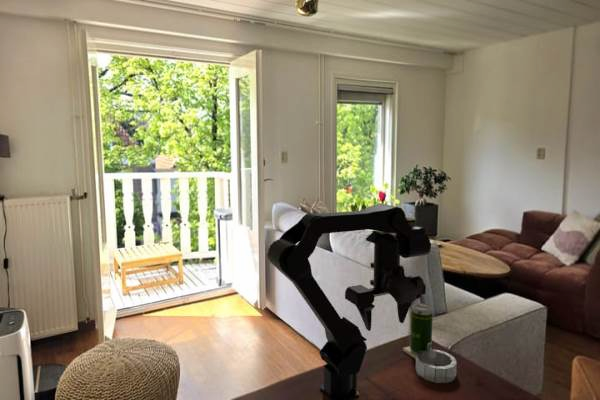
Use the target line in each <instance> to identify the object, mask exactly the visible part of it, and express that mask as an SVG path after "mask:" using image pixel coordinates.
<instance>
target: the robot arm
mask: <svg viewBox="0 0 600 400" xmlns="http://www.w3.org/2000/svg"><path fill="white" fill-rule="evenodd" d="M365 230H371V231H372V232H371V233H370V234H369V235H368V236H367V237H366V238H365V241H366V242H369V243H372V244H374V245H373V249H374V251H373V262H370V268H372V269H373V279H370V281H369V284H370V285H371V286H373V287H371V288H368V287H366V286H365V285H362V284H356V285H352V286H347V288H346V289H345V291H344V299H345V300H347V301H349V302H350V303H352V304H353V305H355V307H356V309H357V310H358V313H359V315H360V317H361V319H362V323H363V324H364V326H365V329H366V331H368V332H370V331H371V329H372V318H373V317H372V315H373V313H372V310H373V309H374V308H375V307H376V305H375V304H373V303H374V302H375V297H380V296H386V295H390V296H391V297H392V298H393V299H394V301H395V302H396V306H397V317H398V322H399V323H401V324H404V322H405V320H406V318H407V315H408V313H409V310H410V308H411V307H412V305H413V302H415V301H417V299H420V298H422V296H423V295H426V290H427V289H426V288H427V287H426V284H425V282H424V279H423V278H422V277H421V276H420V275H418V276H411V275H407V276H406V275H405V274H406V273H405V268H404V266H402V265H401V264H400V263H401V257H402V258H403V259H409V258H417V257H422V256H427V255H428V254H429V253H430V251H431V249H432V243H431V240H430V237H429V236H428V234H427V233H426V227H422V226H419V225H418V226H413V227H412V226H411V224H410V222H409V221H408V219H407V217H406V213H405V210H403V208H402V207H399V206H394V205H390V204H385V203H376V204H373V205H369V206H367V207H366V208H364V209H361V210H352V211H340V212H339V211H338V212H337V211H336V212H325V213H312V212H309V213H306V214H304V215H303V216H302V217H301V219H299V221H298V222H297V223H296V224H294V225H293V226H291V227H290V228H288V229H287V230H286V231H284V233H283V234H281V236H280V237H279V238H278V239H276V240H274V241H273V242H272V243H271V244H270V245H269V248H268V251H267V254H266V256H267V259H268V261H269V262H270V263H271V265H272V266H273V267H275V268H276V269H277V270H278V272H280V273H281V274H282V275H283V276H285V278H287V279H288V280H289V281H290V282H291V283H292V284H293V286H295V287H294V288H296V289H297V291H298V292H299V294H300V295H301V297H302V298H303V300H304V301H305V303H306V304H307V305H308V307H309V308H310V310H311V311H312V313H313V314H314V315H315V316H316V318H317V319H318V321H319V323H320V324H321V325H322V326H323V328H324V333H325V337H326V340H327V341H326V343H325V344H324V345H323V346H322V348H321V349H320V351H319V356H320V359H321V360H322V361H324V362H325V363H326V364H323V365H324V366H323V384H321V385H320V390H322V392H323V393H324V394H325V395H326V397H328V398H329V399H330V400H349V399H352V398H356V397H359V396H360V393H359V391H358V390H357V386H358V374H359V372H360V370H361V368H362V364H363V361H364V358H365V354H366V353H367V352H366V351H367V350H368V348H367V347H368V346H367V343H366V341H367V338H366V337H364V336H363V335H362V332H361V330H360V328H359V326H358V325H356V324H355V323H353V322H351V321H350V320H349V319H347V317H345V316H343V317H341V316H340V315H339V313H338V312H337V310H336V308H335V307H334V305H332V303H331V302H330V300H329V298H328V296H326V294H325V292H324V290H323V289H322V288H321V287H320V284H319V283H318V282H317V281H316V279H315V277H314V276H313V271H312V265H311V263H310V260H309V258H310V257H311V256H312V255H313V253H314V251H315V249H316V248H317V247H316V246H317V244H318V243H319V241H320V238H321V237H322V236H323V235H324V234H325V235H326V234H334V233H335V234H336V233H345V232H356V231H365ZM381 232H382V233H381ZM393 234H395V235H393Z"/></svg>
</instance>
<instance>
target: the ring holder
mask: <svg viewBox="0 0 600 400" xmlns="http://www.w3.org/2000/svg"><path fill="white" fill-rule="evenodd" d="M457 362H458V361H457V359H456V358H455V357H454V355H452V354H451V353H448V352H446V351H443V350H439V349H432V348H431V349H426V350H422V351H420V352H418V353H417V355H416V359H415V371H416V374H417V375H418V376H419V377H421V378H422V379H423V380H426V381H429V382H432V383H436V384H447V383H450V382H453V381H455V379H456V377H457V367H458V366H457V365H458V364H457Z"/></svg>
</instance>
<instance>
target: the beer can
mask: <svg viewBox="0 0 600 400" xmlns="http://www.w3.org/2000/svg"><path fill="white" fill-rule="evenodd" d="M411 307H412V308H411V309H410V331H409V333H410V334H409V335H410V336H409V337H410V338H409V346H410V349H411V351H412V352H413V353H414V354H417V353H418V352H420V351H422V350H426V349H432V345H433V344H432V340H433V318H434V312H433V307H432V306H431V305H429V304H426V303H415V304H412V305H411Z"/></svg>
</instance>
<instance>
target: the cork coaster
mask: <svg viewBox="0 0 600 400" xmlns="http://www.w3.org/2000/svg"><path fill="white" fill-rule="evenodd" d="M402 352H404V353H406V354H407V355H408V356H409V357H411V358H412V359H414V360H416V355H417V354H414V353H413V352H412V351H411V349H410V345H408V346H405V347H402Z"/></svg>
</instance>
